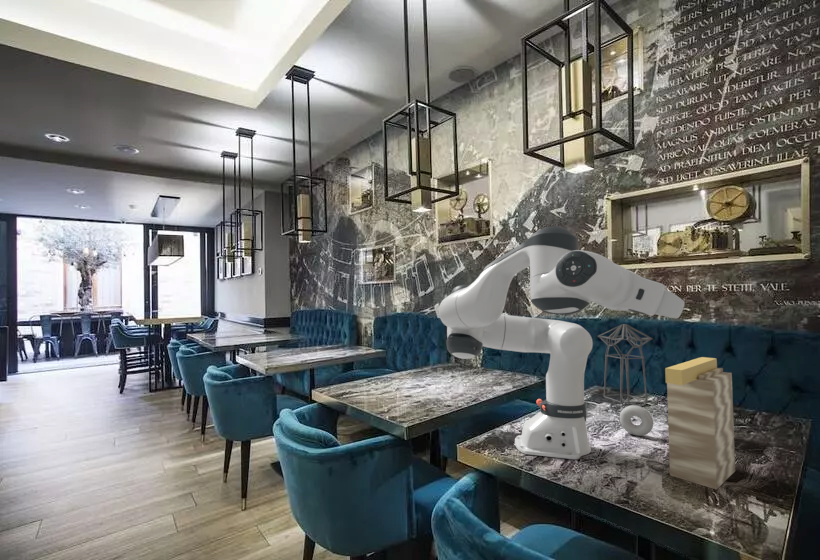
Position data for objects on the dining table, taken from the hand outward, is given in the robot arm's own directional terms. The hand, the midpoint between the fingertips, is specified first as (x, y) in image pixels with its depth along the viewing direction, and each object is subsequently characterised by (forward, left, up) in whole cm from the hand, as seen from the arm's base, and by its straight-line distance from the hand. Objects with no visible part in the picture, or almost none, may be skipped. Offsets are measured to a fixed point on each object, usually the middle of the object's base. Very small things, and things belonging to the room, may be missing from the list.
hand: (643, 301), depth 91 cm
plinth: (+22, +20, -46) cm, 55 cm away
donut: (+17, +48, -46) cm, 68 cm away
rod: (+18, +16, -20) cm, 32 cm away
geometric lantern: (+26, +79, -46) cm, 95 cm away
